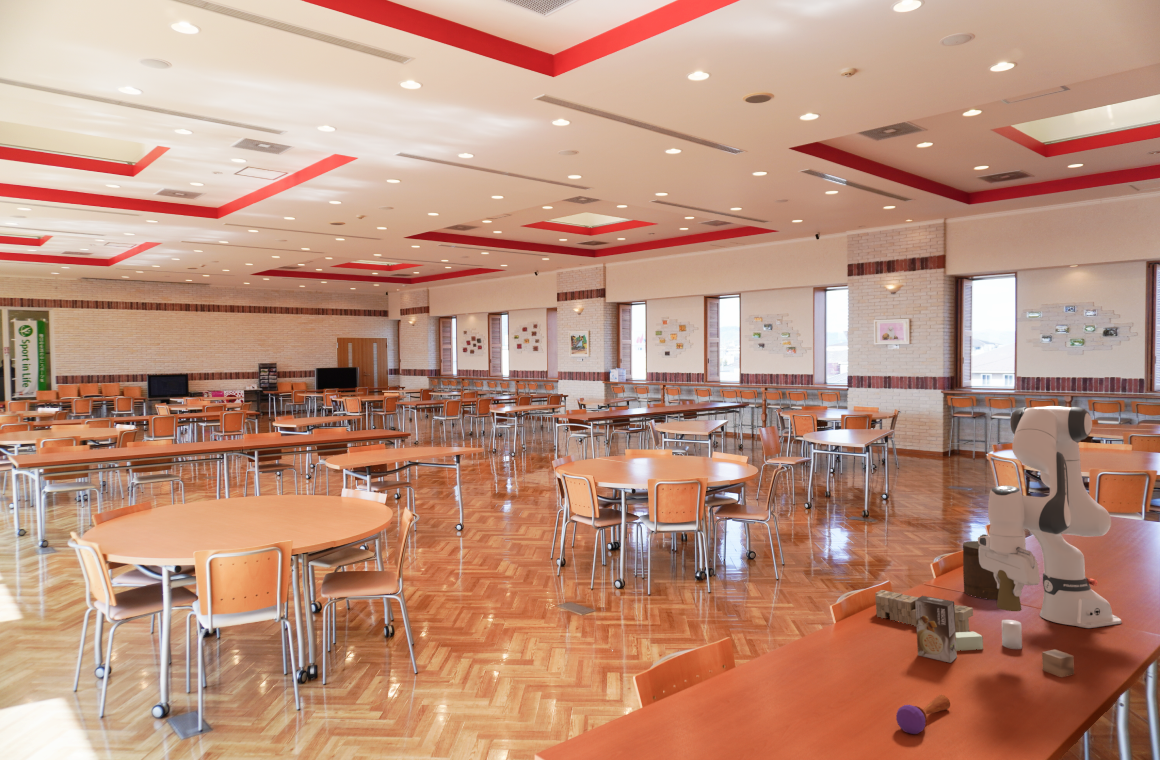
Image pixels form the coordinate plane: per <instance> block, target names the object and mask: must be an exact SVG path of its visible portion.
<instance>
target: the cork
mask: <svg viewBox="0 0 1160 760" xmlns="http://www.w3.org/2000/svg"><path fill="white" fill-rule="evenodd" d="M998 578H999V579H1000V585H999V592H998V600H996V608H998V609H1000V610H1003V611H1007V612H1021V611H1022V609H1023V608H1022V604H1021V599H1020V597H1021V596H1014V595H1013V594H1012V589H1014V587H1015V585H1016V584H1014V580H1012V579H1009V578H1008V577H1007V574H1006V572H1004V571H1003V570H999V571H998Z"/></svg>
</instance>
